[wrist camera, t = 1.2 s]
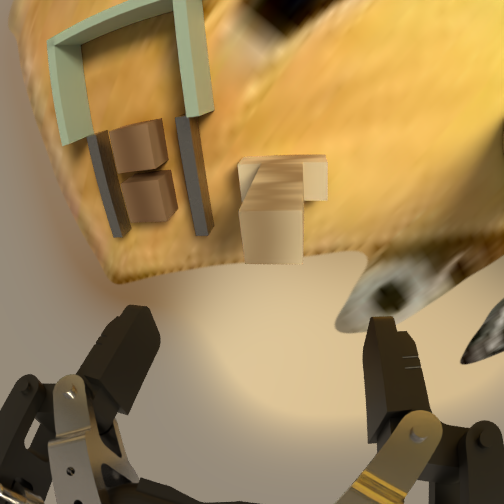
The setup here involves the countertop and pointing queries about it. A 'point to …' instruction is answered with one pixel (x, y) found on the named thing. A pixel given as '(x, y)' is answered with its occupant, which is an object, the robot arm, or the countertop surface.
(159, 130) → the brown block
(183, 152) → the rail slot
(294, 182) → the birch scraper
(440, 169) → the countertop surface
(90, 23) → the tray
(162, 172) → the walnut chip
